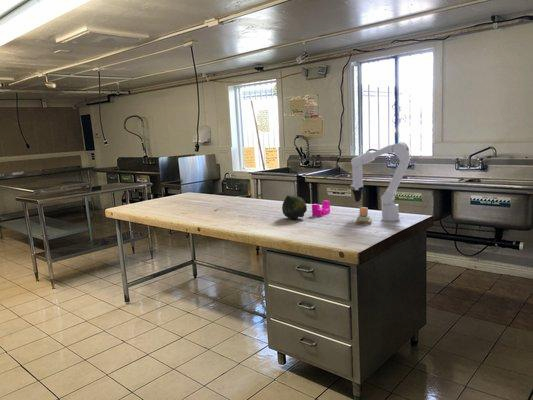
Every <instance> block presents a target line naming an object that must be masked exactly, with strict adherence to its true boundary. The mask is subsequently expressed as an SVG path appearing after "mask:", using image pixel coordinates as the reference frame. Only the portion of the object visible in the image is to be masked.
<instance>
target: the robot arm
mask: <svg viewBox="0 0 533 400" xmlns="http://www.w3.org/2000/svg"><path fill="white" fill-rule="evenodd" d="M387 153H390V154H395V156H396V157H397V158H398V160H399V163H398V165H397V167H396V169H395V171H394V172H395V173H394V174H393V176H392V178H391V180H390V182H389V185H388V187H387V188H386V190H385V191H384V193H383V194H382V195H381V196H380V201H381V218H380V221H384V222H385V221H389V222H390V221H393V222H394V221H395V222H396V221H399V219H400V213H399V212H400V211H399V203H395V199H396V193H397V190H398V187H399V186H400V183H401V181H402V180H403V177H404V175H405V173H406V170H407V169H408V167H409V164H410V162H411V157H410V148H409V146H408V145H407V143H405V142H404V141H403V142H402V141H399V142H398V143H393V144H390V145H387V146H384V147H382V148H380V149H378V150H375V151H372V150H370V151H369V150H367V151H365V153H362V154H359V155H358V156H355V157H353V158H352V159H351V161H350V163H351V166H352V174H351V175H352V184H350V187H352V188H353V189H351V191H352V193H353V197H354V201H355V203H357V202H359V203H360V200H361V199H362V194H363V190H364V182H363V177H364V176H363V173H364V172H363V165H366V164H369V163H371V162H374V161H375V158H377V157H379V156H382V155H385V154H387Z"/></svg>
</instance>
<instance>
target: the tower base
mask: <svg viewBox="0 0 533 400" xmlns="http://www.w3.org/2000/svg"><path fill="white" fill-rule="evenodd" d="M372 221H373V219H372V218H370V219H369V221H357V219H356V220H355V225H356V226H357V225H358V226H359V225H360V226H361V225H363V226H365V225H366V226H367V225H371V224H372Z"/></svg>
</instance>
